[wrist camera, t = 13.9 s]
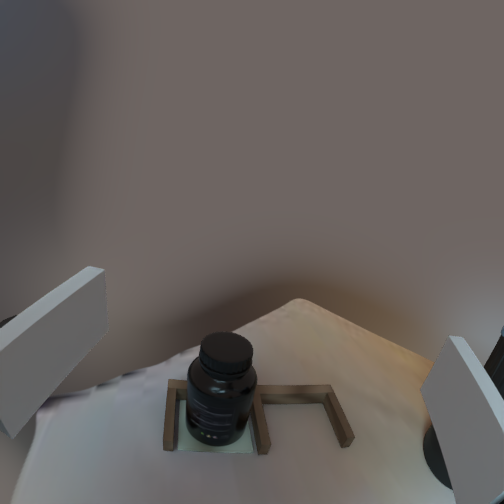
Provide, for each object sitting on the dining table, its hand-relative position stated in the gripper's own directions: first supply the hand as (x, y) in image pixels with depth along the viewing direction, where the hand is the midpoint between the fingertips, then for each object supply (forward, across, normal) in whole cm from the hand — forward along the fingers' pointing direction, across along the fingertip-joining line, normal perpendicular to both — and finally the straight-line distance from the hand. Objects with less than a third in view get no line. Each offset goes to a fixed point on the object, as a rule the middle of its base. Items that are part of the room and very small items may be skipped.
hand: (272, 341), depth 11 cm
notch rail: (+15, +1, -23) cm, 28 cm away
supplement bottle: (+14, -4, -23) cm, 27 cm away
